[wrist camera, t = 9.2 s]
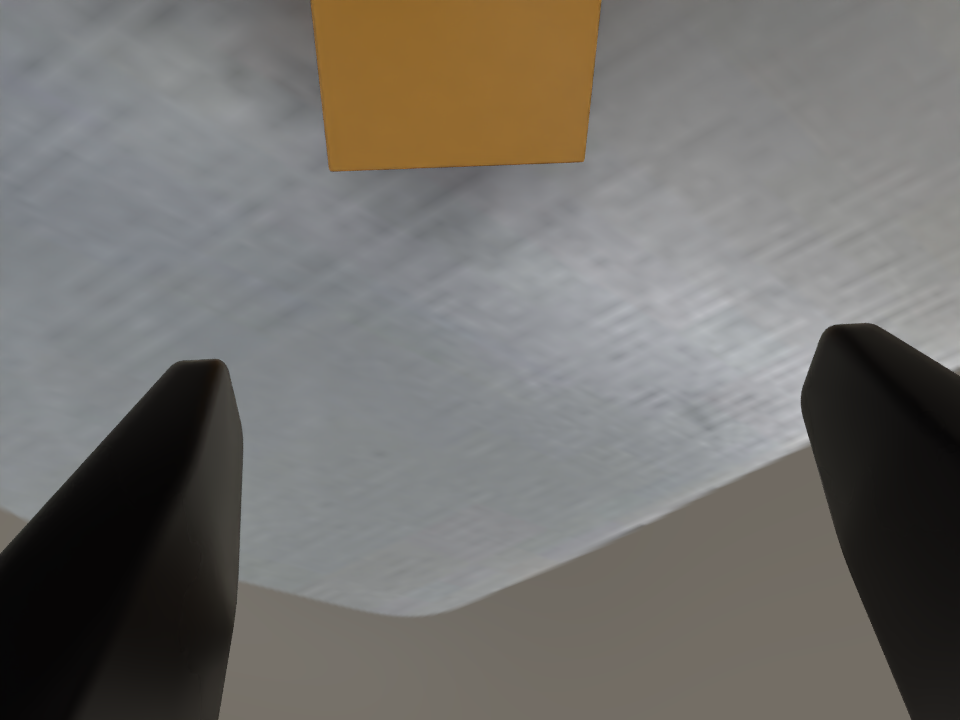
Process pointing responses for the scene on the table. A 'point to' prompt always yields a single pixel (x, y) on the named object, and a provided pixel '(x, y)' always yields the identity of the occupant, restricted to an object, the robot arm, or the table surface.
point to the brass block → (454, 81)
